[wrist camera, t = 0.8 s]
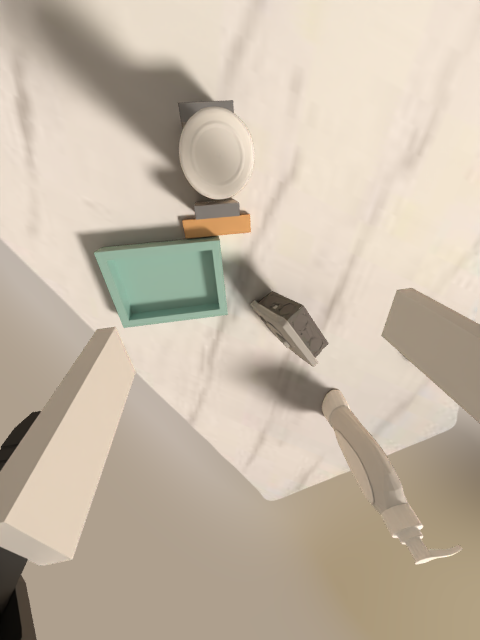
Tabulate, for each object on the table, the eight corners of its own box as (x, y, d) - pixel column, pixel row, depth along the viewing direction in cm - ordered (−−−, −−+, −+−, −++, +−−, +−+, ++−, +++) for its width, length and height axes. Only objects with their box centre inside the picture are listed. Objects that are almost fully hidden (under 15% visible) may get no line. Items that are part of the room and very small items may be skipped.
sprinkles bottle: (231, 193, 26) (253, 201, 15) (191, 192, 26) (181, 198, 14) (232, 144, 24) (259, 108, 12) (188, 140, 23) (173, 99, 12)
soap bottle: (353, 416, 53) (449, 564, 32) (321, 424, 53) (397, 578, 32) (356, 378, 46) (481, 535, 26) (320, 387, 46) (415, 553, 25)
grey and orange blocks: (164, 119, 22) (155, 103, 18) (245, 114, 23) (254, 99, 19) (185, 237, 28) (182, 247, 24) (249, 231, 29) (257, 239, 24)
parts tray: (102, 247, 27) (93, 252, 25) (218, 236, 28) (219, 240, 26) (128, 318, 32) (123, 327, 30) (226, 306, 34) (227, 314, 31)
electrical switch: (247, 301, 34) (268, 333, 26) (275, 279, 33) (305, 305, 25) (279, 339, 38) (304, 376, 30) (304, 321, 38) (336, 353, 30)
